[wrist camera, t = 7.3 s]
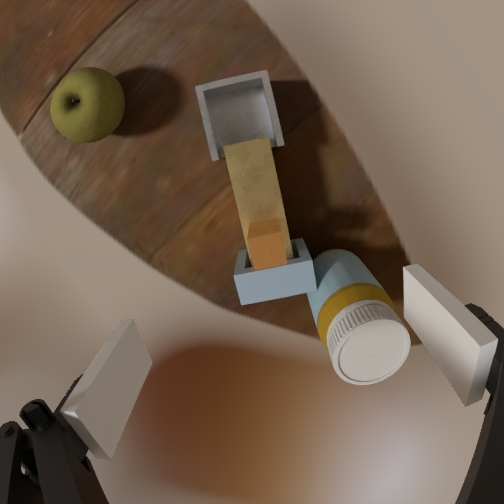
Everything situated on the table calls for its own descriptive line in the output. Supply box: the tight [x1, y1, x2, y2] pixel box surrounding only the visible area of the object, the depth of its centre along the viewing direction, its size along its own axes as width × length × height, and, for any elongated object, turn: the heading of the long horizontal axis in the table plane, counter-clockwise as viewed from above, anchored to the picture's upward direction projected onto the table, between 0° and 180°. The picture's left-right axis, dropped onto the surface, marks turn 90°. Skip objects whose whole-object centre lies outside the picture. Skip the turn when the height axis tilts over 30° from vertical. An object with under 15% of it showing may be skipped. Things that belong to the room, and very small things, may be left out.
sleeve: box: [195, 70, 284, 161], centre depth 28 cm, size 7×6×5 cm
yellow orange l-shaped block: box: [223, 137, 294, 271], centre depth 28 cm, size 13×4×9 cm, turn 13°
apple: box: [50, 67, 125, 143], centre depth 27 cm, size 8×8×7 cm
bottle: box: [307, 249, 410, 385], centre depth 29 cm, size 7×7×15 cm
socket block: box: [234, 238, 317, 305], centre depth 32 cm, size 3×7×7 cm, turn 103°
